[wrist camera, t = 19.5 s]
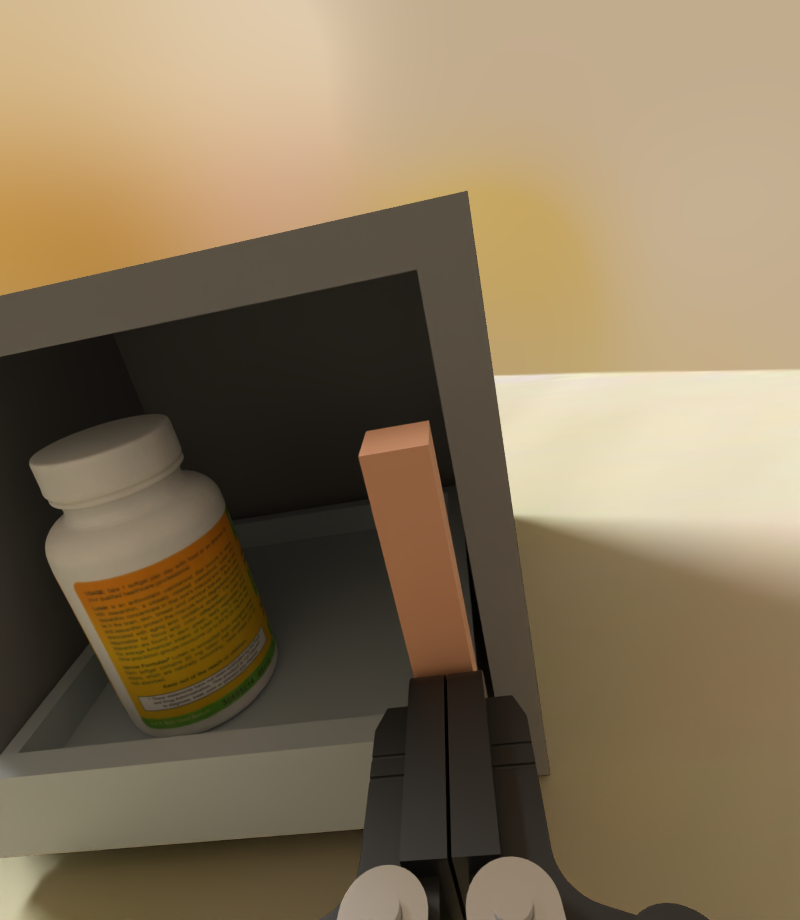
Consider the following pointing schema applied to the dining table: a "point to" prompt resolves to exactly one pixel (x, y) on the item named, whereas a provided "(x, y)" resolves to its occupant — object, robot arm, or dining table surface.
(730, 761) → the dining table surface
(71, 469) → the supplement bottle
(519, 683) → the cabinet
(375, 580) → the drawer
